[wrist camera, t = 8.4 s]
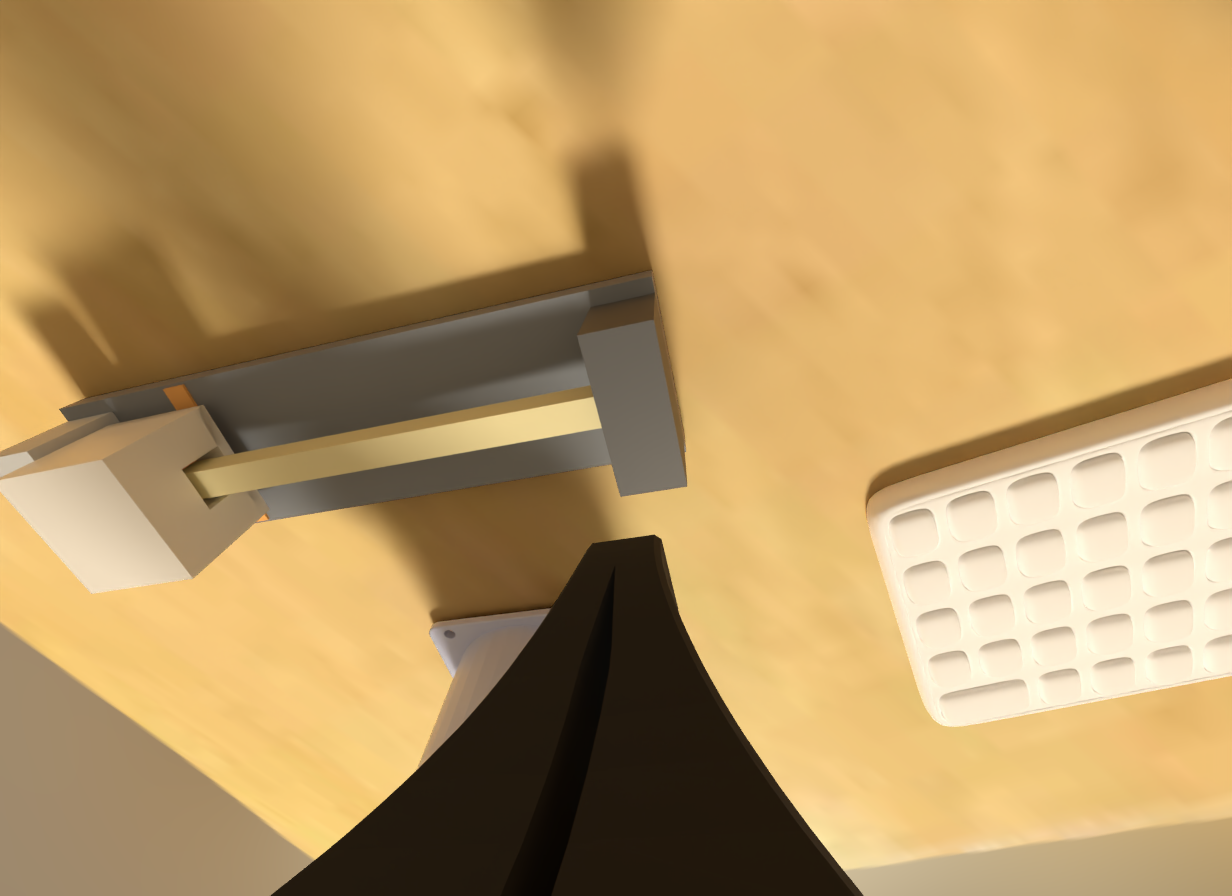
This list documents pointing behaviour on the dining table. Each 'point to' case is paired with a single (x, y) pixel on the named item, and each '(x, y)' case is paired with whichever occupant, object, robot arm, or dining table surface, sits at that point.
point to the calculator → (1067, 563)
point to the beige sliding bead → (133, 502)
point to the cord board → (430, 406)
